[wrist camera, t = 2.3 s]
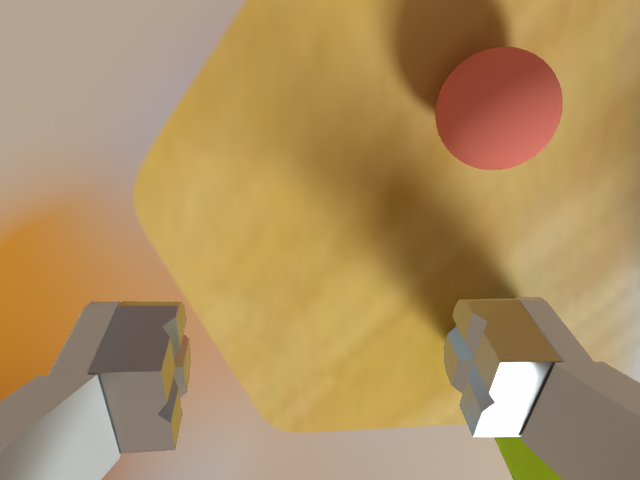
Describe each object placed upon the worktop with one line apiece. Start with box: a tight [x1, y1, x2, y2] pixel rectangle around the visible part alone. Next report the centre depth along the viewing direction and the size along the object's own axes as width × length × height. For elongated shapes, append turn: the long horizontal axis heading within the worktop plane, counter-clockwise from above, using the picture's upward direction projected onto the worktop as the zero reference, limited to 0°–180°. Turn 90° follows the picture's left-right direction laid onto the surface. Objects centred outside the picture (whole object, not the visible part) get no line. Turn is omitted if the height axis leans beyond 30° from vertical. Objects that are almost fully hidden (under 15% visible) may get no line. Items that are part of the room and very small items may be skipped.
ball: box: [436, 47, 562, 170], centre depth 22 cm, size 6×6×6 cm
